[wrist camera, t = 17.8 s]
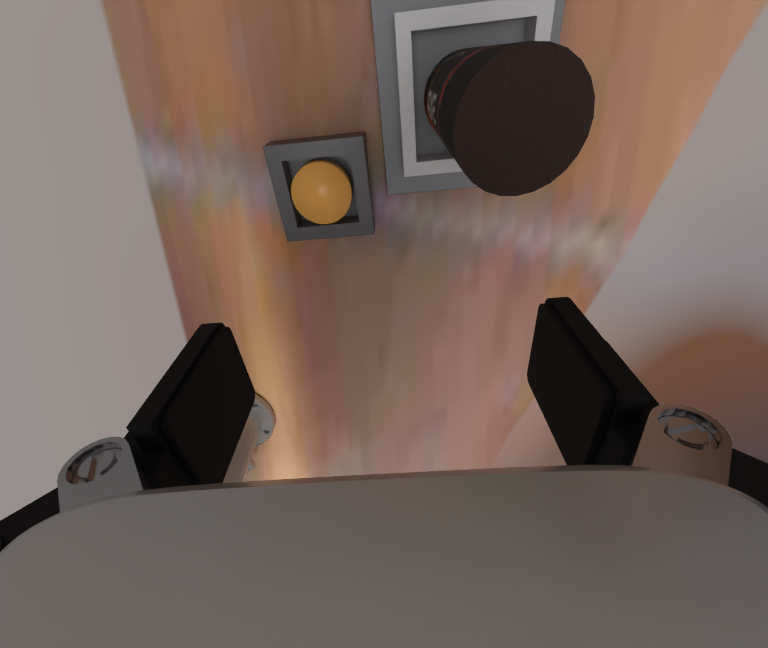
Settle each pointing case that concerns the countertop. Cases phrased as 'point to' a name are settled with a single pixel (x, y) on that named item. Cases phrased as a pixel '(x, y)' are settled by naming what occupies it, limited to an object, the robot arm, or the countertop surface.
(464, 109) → the deodorant
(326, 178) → the button
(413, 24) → the grey rectangular tray
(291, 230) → the button housing
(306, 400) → the countertop surface
